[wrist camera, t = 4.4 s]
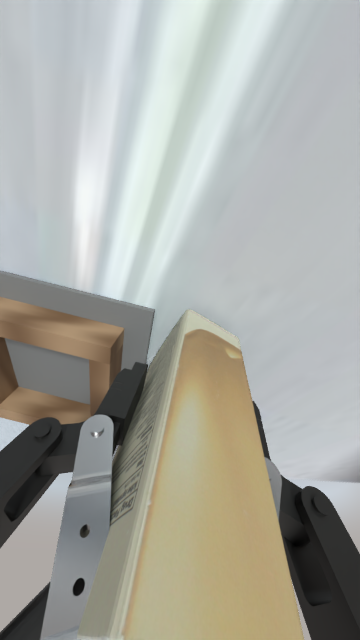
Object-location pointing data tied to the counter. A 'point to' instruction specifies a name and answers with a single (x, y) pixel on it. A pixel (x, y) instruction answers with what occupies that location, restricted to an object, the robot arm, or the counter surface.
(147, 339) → the mat
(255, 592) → the skincare box
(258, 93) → the counter surface
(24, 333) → the collar
